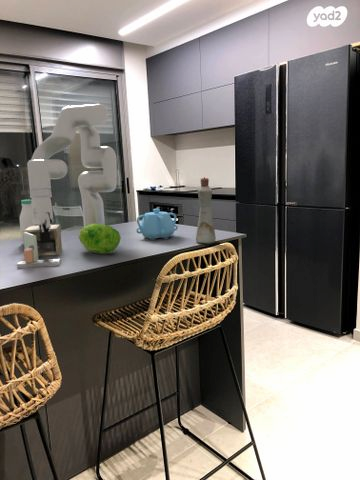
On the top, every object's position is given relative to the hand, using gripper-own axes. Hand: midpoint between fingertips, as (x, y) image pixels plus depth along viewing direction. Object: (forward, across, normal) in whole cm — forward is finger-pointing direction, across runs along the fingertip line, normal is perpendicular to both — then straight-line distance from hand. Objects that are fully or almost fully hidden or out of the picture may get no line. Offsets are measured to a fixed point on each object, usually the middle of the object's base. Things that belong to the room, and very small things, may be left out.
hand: (45, 242), depth 147 cm
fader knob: (+5, +6, -9) cm, 12 cm away
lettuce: (+6, +6, +19) cm, 21 cm away
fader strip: (+7, +8, -6) cm, 12 cm away
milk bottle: (+6, -35, +6) cm, 36 cm away
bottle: (+6, +23, +62) cm, 66 cm away
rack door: (+6, -3, -5) cm, 9 cm away
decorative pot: (+6, -2, +54) cm, 54 cm away
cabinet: (+6, -11, +3) cm, 13 cm away
